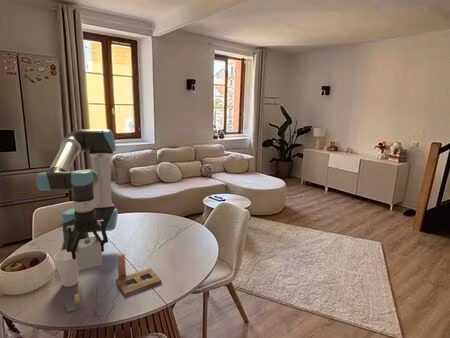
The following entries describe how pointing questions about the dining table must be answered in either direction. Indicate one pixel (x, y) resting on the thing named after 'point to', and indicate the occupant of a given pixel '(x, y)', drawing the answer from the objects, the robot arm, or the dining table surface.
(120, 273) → the peg
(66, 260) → the cup
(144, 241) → the dining table surface
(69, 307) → the pad
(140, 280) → the board
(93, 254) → the block
